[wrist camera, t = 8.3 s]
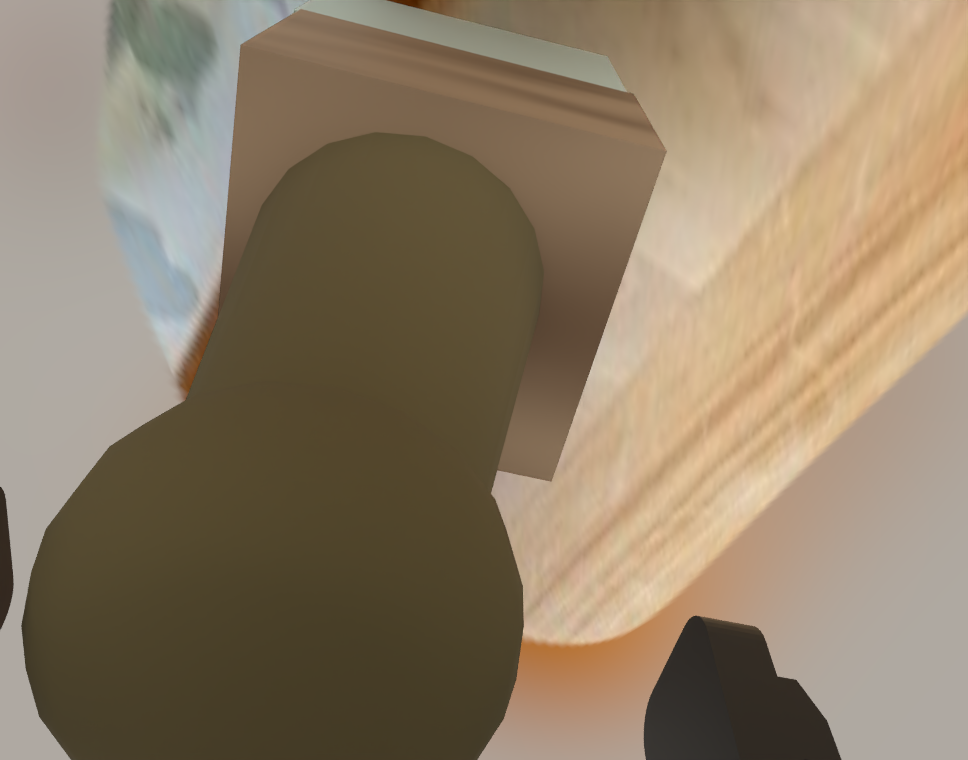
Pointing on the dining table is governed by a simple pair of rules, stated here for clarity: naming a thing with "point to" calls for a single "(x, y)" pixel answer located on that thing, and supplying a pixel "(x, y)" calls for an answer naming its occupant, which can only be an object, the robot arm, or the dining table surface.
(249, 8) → the dining table surface
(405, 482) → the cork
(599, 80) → the tower base block
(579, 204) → the tower top block
